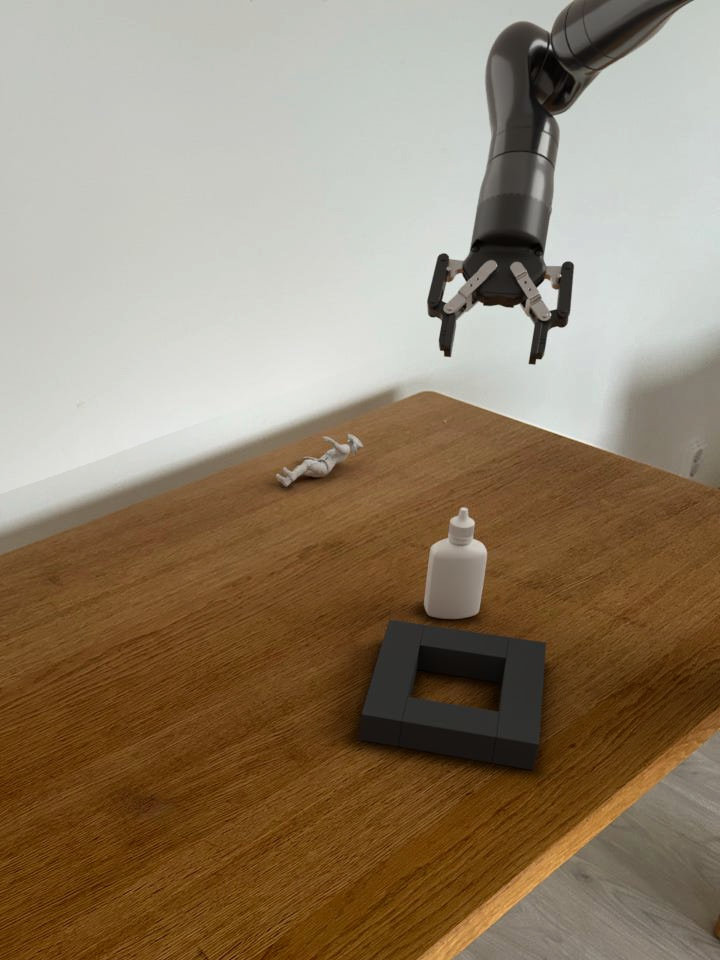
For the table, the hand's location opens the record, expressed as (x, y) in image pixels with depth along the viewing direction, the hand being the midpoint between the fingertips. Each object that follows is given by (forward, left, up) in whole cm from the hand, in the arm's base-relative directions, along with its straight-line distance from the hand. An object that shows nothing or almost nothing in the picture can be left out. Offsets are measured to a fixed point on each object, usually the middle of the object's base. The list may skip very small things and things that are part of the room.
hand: (489, 357), depth 103 cm
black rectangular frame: (-2, +28, -22) cm, 36 cm away
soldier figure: (+20, -14, -23) cm, 33 cm away
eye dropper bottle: (0, +13, -23) cm, 26 cm away
